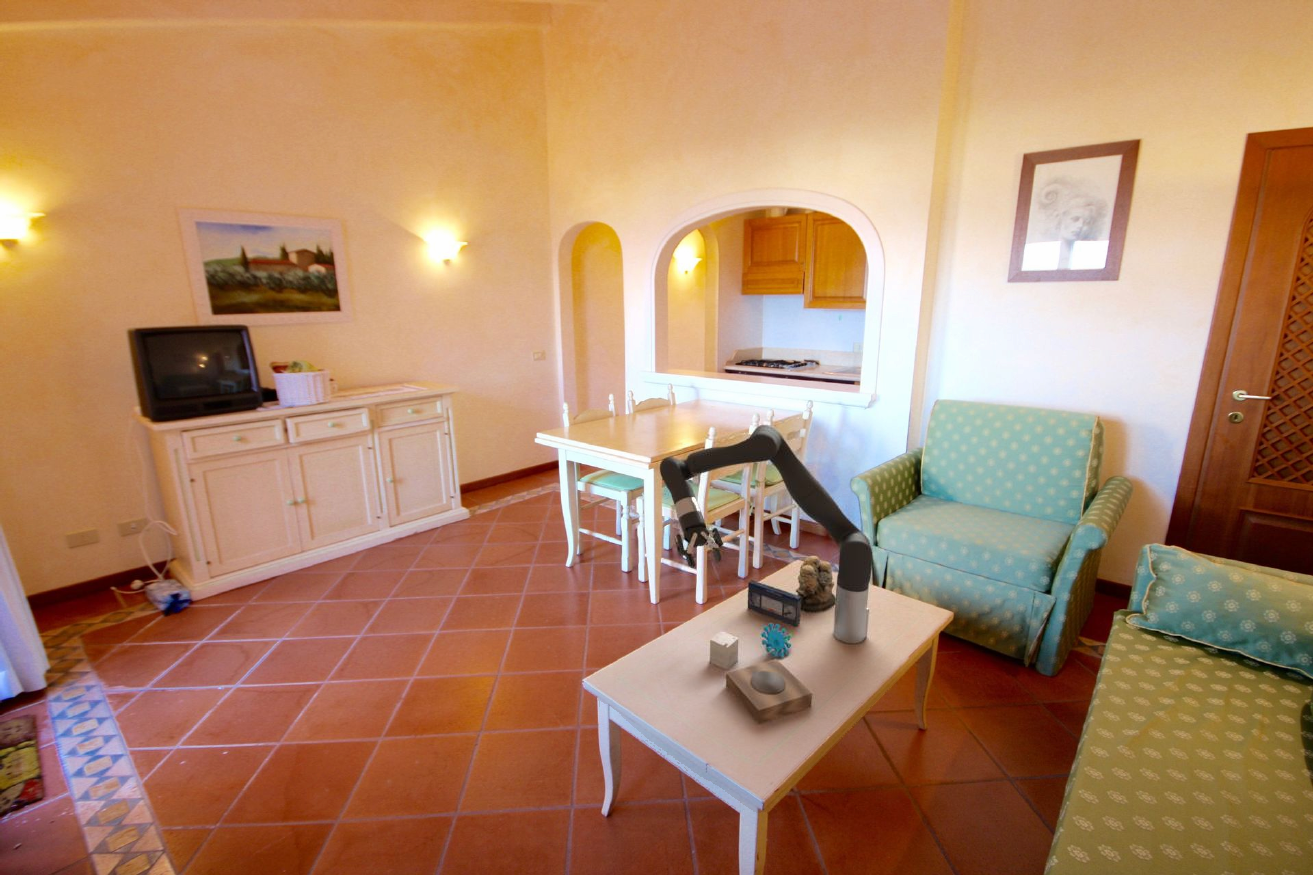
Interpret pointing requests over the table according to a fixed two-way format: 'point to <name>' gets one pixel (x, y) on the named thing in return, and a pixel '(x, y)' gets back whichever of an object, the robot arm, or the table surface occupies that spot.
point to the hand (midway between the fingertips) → (706, 564)
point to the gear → (776, 640)
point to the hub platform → (768, 690)
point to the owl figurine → (815, 585)
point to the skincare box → (724, 650)
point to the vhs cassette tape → (774, 603)
